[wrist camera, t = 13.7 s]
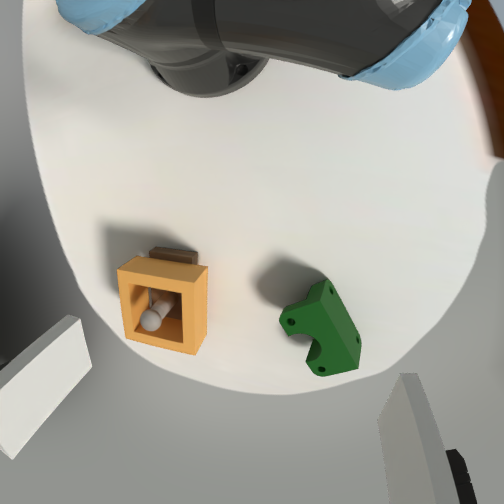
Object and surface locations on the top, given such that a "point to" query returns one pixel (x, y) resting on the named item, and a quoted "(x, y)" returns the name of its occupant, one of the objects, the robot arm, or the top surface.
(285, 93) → the top surface
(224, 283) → the top surface
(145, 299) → the orange hollow square frame
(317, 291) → the clamp
